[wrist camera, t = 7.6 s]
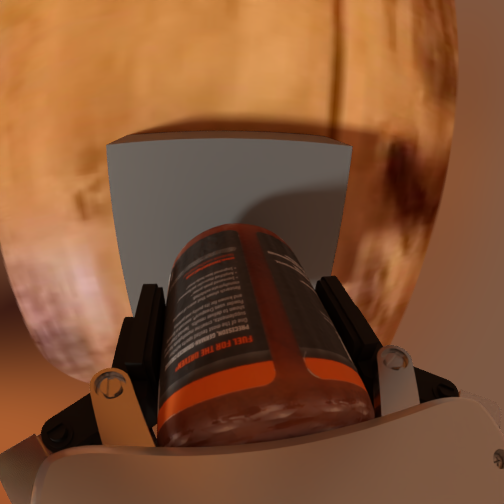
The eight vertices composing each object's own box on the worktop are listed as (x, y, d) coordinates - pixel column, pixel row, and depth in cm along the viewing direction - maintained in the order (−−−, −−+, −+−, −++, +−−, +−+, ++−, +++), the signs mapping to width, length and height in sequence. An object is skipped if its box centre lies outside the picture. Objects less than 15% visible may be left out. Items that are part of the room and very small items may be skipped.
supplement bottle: (150, 297, 14) (125, 547, 4) (211, 192, 12) (256, 545, 2) (252, 338, 16) (299, 543, 6) (320, 255, 14) (453, 479, 4)
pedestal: (127, 135, 15) (106, 145, 12) (323, 136, 17) (352, 146, 14) (146, 300, 21) (139, 337, 18) (302, 293, 23) (318, 328, 19)
